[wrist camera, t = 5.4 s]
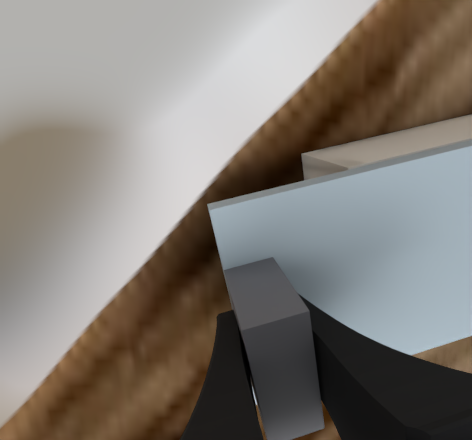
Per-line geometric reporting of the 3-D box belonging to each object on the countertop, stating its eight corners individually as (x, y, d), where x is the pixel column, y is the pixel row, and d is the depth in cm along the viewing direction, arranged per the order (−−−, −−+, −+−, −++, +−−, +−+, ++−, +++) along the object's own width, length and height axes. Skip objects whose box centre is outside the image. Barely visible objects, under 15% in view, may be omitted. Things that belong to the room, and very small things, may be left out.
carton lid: (523, 127, 13) (679, 131, 9) (495, 313, 16) (598, 377, 12) (207, 204, 11) (223, 251, 7) (252, 390, 15) (279, 490, 11)
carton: (514, 104, 18) (628, 99, 14) (495, 247, 22) (580, 281, 17) (301, 153, 17) (348, 167, 12) (317, 298, 20) (358, 351, 16)
